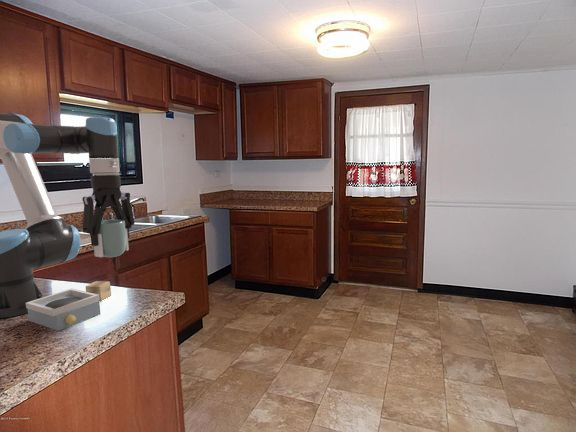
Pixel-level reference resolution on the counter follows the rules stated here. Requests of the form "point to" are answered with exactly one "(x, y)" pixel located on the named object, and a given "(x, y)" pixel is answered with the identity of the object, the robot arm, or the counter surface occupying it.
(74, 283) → the counter surface
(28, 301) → the robot arm
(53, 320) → the grey drawer box
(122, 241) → the cup
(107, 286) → the oak block
